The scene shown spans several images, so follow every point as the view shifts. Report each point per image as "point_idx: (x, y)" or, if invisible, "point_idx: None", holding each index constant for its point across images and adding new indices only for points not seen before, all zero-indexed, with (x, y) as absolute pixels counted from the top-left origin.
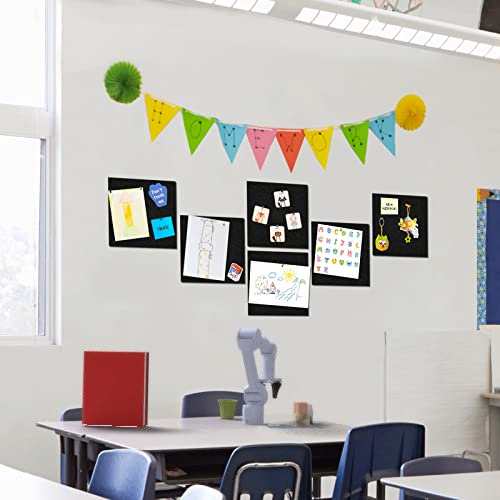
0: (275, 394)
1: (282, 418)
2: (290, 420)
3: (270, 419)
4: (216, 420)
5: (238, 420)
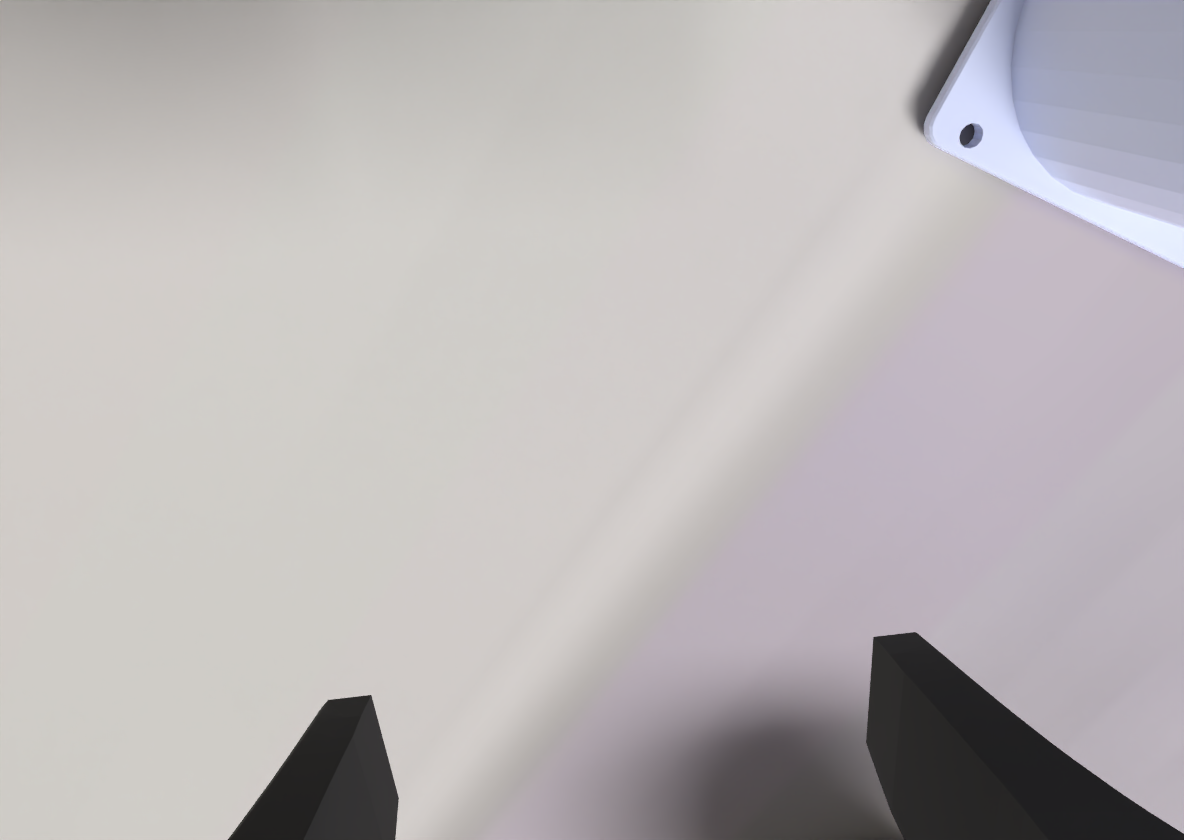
0: (338, 816)
1: (81, 737)
2: (70, 443)
3: (347, 680)
4: (1126, 792)
5: None
